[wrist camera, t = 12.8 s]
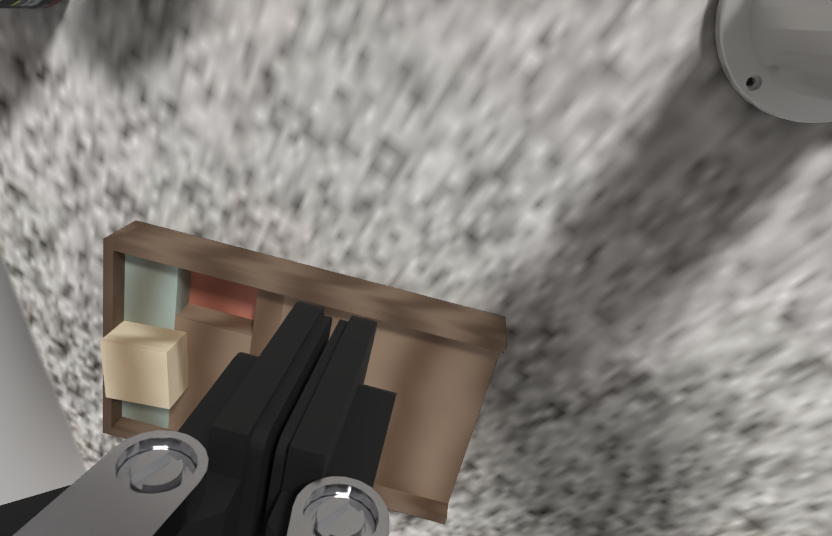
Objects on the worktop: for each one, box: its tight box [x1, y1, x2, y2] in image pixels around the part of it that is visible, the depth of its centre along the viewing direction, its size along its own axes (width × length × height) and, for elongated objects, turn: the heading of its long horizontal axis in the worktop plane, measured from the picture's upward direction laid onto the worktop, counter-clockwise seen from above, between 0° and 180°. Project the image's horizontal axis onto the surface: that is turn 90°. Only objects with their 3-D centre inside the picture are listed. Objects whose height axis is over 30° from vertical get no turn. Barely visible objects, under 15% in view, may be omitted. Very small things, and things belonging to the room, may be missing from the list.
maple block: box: [100, 321, 189, 409], centre depth 44 cm, size 5×5×3 cm
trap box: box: [103, 221, 506, 524], centre depth 45 cm, size 29×17×4 cm, turn 77°
